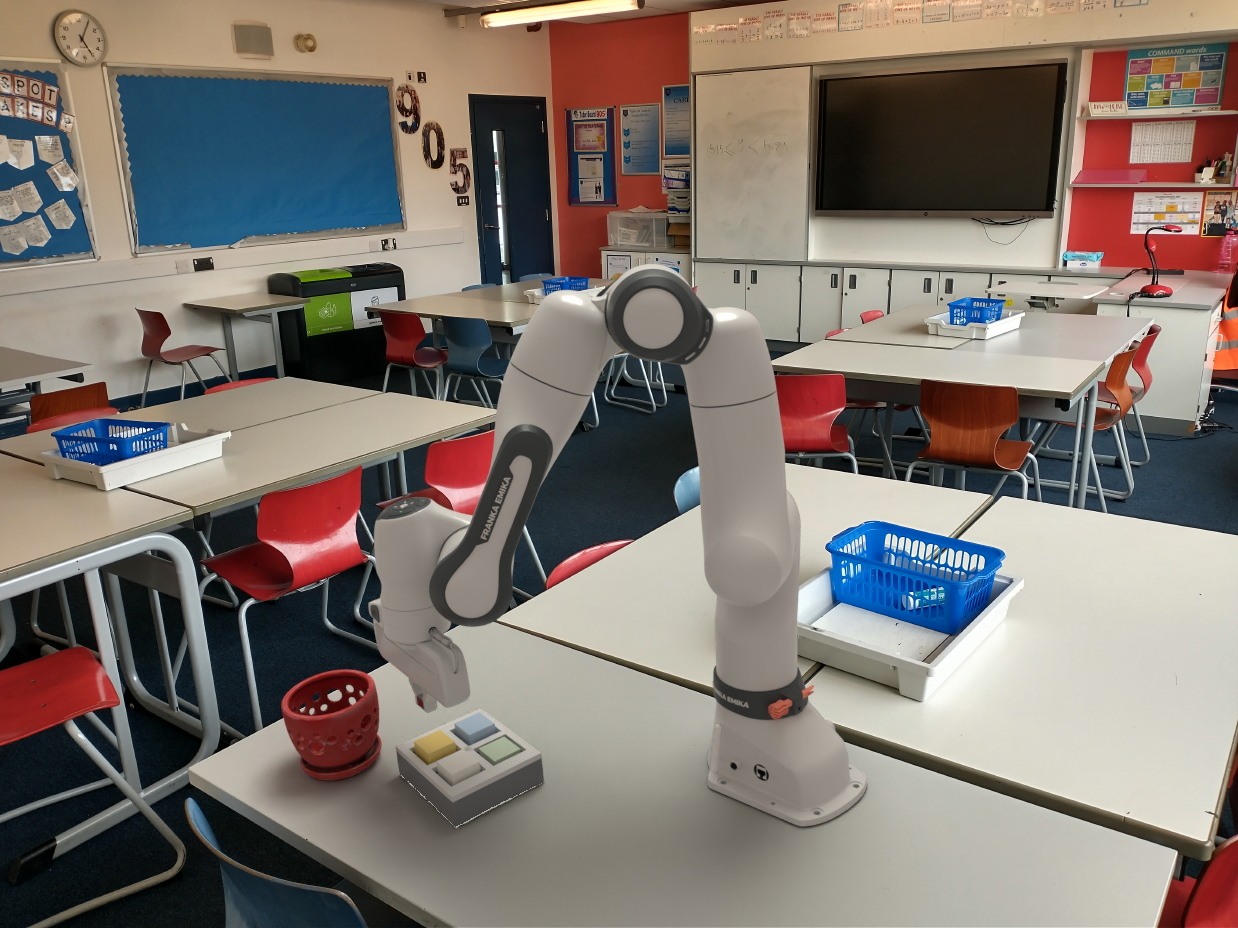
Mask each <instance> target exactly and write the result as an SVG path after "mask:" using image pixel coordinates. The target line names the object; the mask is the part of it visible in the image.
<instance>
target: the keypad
mask: <svg viewBox="0 0 1238 928" xmlns="http://www.w3.org/2000/svg"><path fill="white" fill-rule="evenodd" d="M479 712H480V713H481V714H482V715H484V716H485V717H486V718H488V719H489V720H491V721H492V722H493V723H495V731H496V734H494V735H492V736H489V737H487V738H485V739H483V740H481V741H479V742H477V743H474V744H472V745H470V746H468V745H467V744H465V743H464V742H463V741H462V740H460V739H459V738H458V737H457V736H456V733H455V725H454V723H456V722H459V721H461V720H463V719H465V718H468V717H470V716H472V715H474V714H477V713H479ZM439 730H441V731H442V732H444V733H445V734H446V735H447V736H449V737H450V738H451V739H452V740H453V741H455V746H456V752H457V751H460V750H462V749H464V750H466V751H467V752H468V753H469V754H471V755H472V756H473V757H474V758H475V759H477V760H478V761H479V763H480V771H481V772H480V773H478V774H476V775H474V776H472V777H470V778H468V779H466V780H464V781H462V782H460V783H458V784H456V785H454V786H452V787H451V786H450V785H449V784H448V783H447V782H445V781H444V780H443V779H442V778H441V777H440V776H439V775H438V770H437V762H434V763H432V764H429V765H426V764H425V763H424V762H423V761H422V760H421V759H420V758H418V757H417V756H416V754H415V747H414V741H416V740H418V739H421V738H423V737H425V736H427V735H430V734H432V733H434V732H436V731H439ZM502 737H505V738H507V739H508V740H509V741H511V742H512V743H513V744H515V745H516V746H517V747H519V748H520V749H521V753H519V754H517V755H515V756H513V757H511V758H509V759H507V760H505V761H503V762H501V763H499V764H497V765H495V766H493V765H492V764H490V763H489V762H488V761H487V760H485V759H484V758H483V757H482V756H480V755H479V748H481V747H483V746H485V745H487V744H489V743H491V742H494V741H496V740H498V739H500V738H502ZM394 746H395V752H396V753H395V754H396V758H397V759H396V760H397V766H398V774H399V773H400V774H399V776H400V775H402V776H403V777H404V778H405V779H406V780H407V781H409V783H411V784H412V785H413V786H414V788H416V790H418V791H419V792H420V793H421V794H422V795H423V796H425V798H426V799H427V800H428V801H430V802H431V803H432V804H433V805H434V806H435V807H436V808H437V810H438V811H439V812H440V813H442V814H443V815H444V816H445V817H446V818H447V819H448V820H449V821H450V822H451V823H452V824H453V825H454V826H455V827H456V826H458V825H460V824H463V823H464V822H466V821H468V820H470V819H471V818H473V817H475V816H477V815H479V814H481V813H482V812H484V811H486V810H488V809H490V808H491V807H494V806H496V805H498V804H500V803H501V802H503V801H506V800H508V799H509V798H513V797H514V796H516V795H519V794H520V793H522V792H524V791H526V790H529V789H530V788H532V787H534V786H537V785H539V784H541V783H543V782H544V783H545V779H544V778H545V777H544V768H543V767H544V766H543V756H542V751H540V750H538V749H536V748H535V746H532V745H531V744H530V743H528V742H527V741H525V740H524V739H523V738H521V737H520V736H519V735H518V734H516V733H515V732H514V731H512V730H511V729H509V728H508V727H507V726H505V725H504V724H503V723H502V722H500V721H498V720H497V719H496V718H494V717H493V716H492V715H490V714H489V713H488V712H486V711H485V710H483V709H482V708H478V709H476V710H473V711H472V712H469V713H466V714H464V715H463V716H460V717H457V718H455V719H453V720H451V721H449V722H447V723H444V724H442V725H440V726H437V727H435V728H433V729H430V730H429V731H426V732H424V733H422V734H420V735H417V736H415V737H413V738H410V739H408V740H406V741H403V742H401V743H399V744H397V745H394ZM444 758H445V757H444ZM544 783H543V784H544ZM541 785H542V784H541ZM539 786H540V785H539ZM537 787H538V786H537ZM414 788H413V789H414ZM416 790H415V791H416ZM529 791H530V790H529ZM437 810H436V811H437ZM438 811H437V812H438ZM439 812H438V813H439ZM440 813H439V814H440ZM451 823H450V824H451ZM452 824H451V825H452ZM453 825H452V826H453ZM454 826H453V827H454ZM455 827H454V828H455Z"/></svg>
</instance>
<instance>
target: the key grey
mask: <svg viewBox="0 0 1238 928" xmlns="http://www.w3.org/2000/svg"><path fill="white" fill-rule="evenodd" d="M436 762H437V770H438V775H439V776H440V777H441V778H442V779H443V780H444V781H445V782H447V783H448V784H449V785H450V786H451V787H452V786H454V785H456V784H458V783H460V782H462V781H464V780H466V779H468V778H470V777H472V776H474V775H476V774H478V773H480V772H481V771H480V763H479V761H478V760H477V759H475V758H474V757H473V756H472V755H471V754H469V753H468V752H467V751H466V750H464V749H462V750H460V751H457V752H455V753H453V754H451V755H449V756H447V757H445V758H442V759H440V760H438V761H436Z"/></svg>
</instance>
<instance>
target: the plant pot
mask: <svg viewBox="0 0 1238 928" xmlns="http://www.w3.org/2000/svg"><path fill="white" fill-rule="evenodd" d="M348 686H351V687H352V689H353V691H349V690H348V689H347V687H348ZM333 689H335V690H337V691H339V692H340V694H341V697H340V699H338V700H331V699H330V698H329V695H328V694H329V692H330V691H331V690H333ZM361 692H362V694H363V695H362V694H361ZM315 694H319V696H318V697H319V698H317V699H316V700H313V696H314V695H315ZM350 698H353V699H354V700H355V703H353V704H352V703H351V702H350ZM303 704H304V709H303V710H302V711H301V706H302V705H303ZM325 705H326V708H325V710H323V709H322V706H325ZM311 709H313V710H314V711H313V713H312V714H311V713H310V710H311ZM281 712H282V717H283V721H284V725H285V729H286V731H287V734H288V736H289V739H290V741H291V743H292V746H293V747H294V749H295V751H297V753H298V755H300V758H299V759H300V761H299V762H300V764H299V765H300V767H301V769H302V771H304V772H305V773H306V774H307V775H308V776H310V777H312V778H315V779H317V780H321V781H337V780H338V781H339V780H344V779H347V778H350V777H353V776H356V775H358V774H359V773H361V772H363V771H364V770H366V769H367V768H369V767H370V766H372V765H373V763H375V761H376V759H378V757H379V756H380V754H381V751H382V743H383V742H382V739H381V737H380V735H379V734H378V732H379V726H380V703H379V697H378V691H377V687H376V683H375V681H374V679H373V677H372V676H371V675H369V674H367V673H366V672H363V671H361V670H356V669H336V670H329V671H325V672H322V673H319V674H314V675H313V676H311V677H308V678H306V679H303V680H302V681H301V682H299V683H297V684H296V685H294V686H293V687H292V688H291V689H289V691H287V692H286V694H285V695H284V696H283V699H282V700H281ZM357 773H358V774H357ZM355 774H356V775H355Z"/></svg>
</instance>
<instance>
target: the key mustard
mask: <svg viewBox="0 0 1238 928" xmlns="http://www.w3.org/2000/svg"><path fill="white" fill-rule="evenodd" d="M414 747H415V754H416V756H417V757H418V758H420V759H421V760H422V761H423V762H424V763H425V764H426V765H429V764H432V763H434V762H436V761H438V760H440V759H442V758H444V757H447V756H449V755H451V754H453V753H455V752H456V746H455V741H453V740H452V739H451V738H450V737H449V736H447V735H446V734H445V733H444V732H442V731H441V730H439V731H436V732H434V733H432V734H430V735H427V736H425V737H423V738H421V739H418V740H416V741H414Z"/></svg>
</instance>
